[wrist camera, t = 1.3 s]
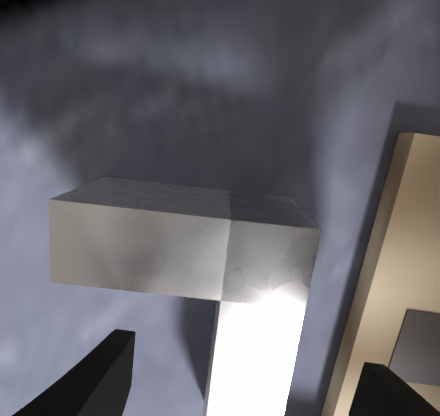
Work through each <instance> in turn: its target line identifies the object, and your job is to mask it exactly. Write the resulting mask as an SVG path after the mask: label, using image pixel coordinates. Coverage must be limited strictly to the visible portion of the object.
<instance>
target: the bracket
mask: <svg viewBox="0 0 440 416" xmlns="http://www.w3.org/2000/svg"><path fill="white" fill-rule="evenodd" d="M49 222H50V259H51V282H54V283H63V284H72V285H81V286H91V287H100V288H109V289H118V290H127V291H136V292H145V293H154V294H163V295H172V296H182V297H191V298H200V299H209V300H216V306H215V315H214V323H213V331H212V339H211V348H210V356H209V364H208V373H207V381H206V389H205V397H204V408H203V416H284V411H285V407H286V402H287V397H288V392H289V387H290V382H291V377H292V372H293V367H294V362H295V357H296V352H297V347H298V342H299V337H300V332H301V327H302V322H303V317H304V312H305V307H306V302H307V298H308V293H309V288H310V283H311V278H312V273H313V268H314V263H315V258H316V253H317V248H318V243H319V238H320V233H321V229H320V228H319V227H318V226H317V225H316V224H315V223H314V222H313V221H312V220H311V219H310V217H309V216H308V215H307V214H306V213H305V212H304V211H303V210H302V209H301V208H300V207H299V206H298V205H297V203H296V202H295V201H294V200H293V199H292V198H288V197H279V196H270V195H262V194H253V193H244V192H235V191H226V190H217V189H209V188H200V187H191V186H182V185H173V184H164V183H156V182H147V181H138V180H129V179H120V178H111V177H103V178H101V179H98V180H96V181H93V182H91V183H88V184H86V185H84V186H81V187H79V188H76V189H74V190H71V191H69V192H66V193H64V194H61V195H59V196H56V197H54V198H51V199H49Z"/></svg>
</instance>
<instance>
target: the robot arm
mask: <svg viewBox="0 0 440 416" xmlns="http://www.w3.org/2000/svg"><path fill="white" fill-rule="evenodd" d="M134 344H135V332H134V331H126V330H119V329H115V330H114V331H113V332H111V333H110V334H109V335H108V336H107V337H106V338H105V339H104V340H103V341H102V342H101V343H100V344H99V345H98V346H97V347H95V348H94V349H93V350H92V351H91V352H90V353H89V354H88V355H87V356H86V357H84V358H83V359H82V360H81V361H80V362H79V363H78V364H76V365H75V366H74V367H73V368H72V369H71V370H69V371H68V372H67V373H66V374H65V375H64V376H63V377H61V378H60V379H59V380H58V381H56V382H55V383H54V384H53V385H51V386H50V387H49V388H48V389H46V390H45V391H44V392H43V393H41V394H40V395H39V396H37V397H36V398H35V399H34V400H32V401H31V402H30V403H28V404H27V405H26V406H24V407H23V408H22V409H20V410H19V411H18V412H16V413H15V414H14V415H12V416H122V414H123V411H124V408H125V405H126V401H127V398H128V395H129V391H130V388H131V381H132V368H133V356H134ZM349 416H440V412H439V411H438V410H437V409H436V408H434V407H433V406H432V405H431V404H430V403H429V402H428V401H426V400H425V399H424V398H423V397H422V396H421V395H420V394H418V393H417V392H416V391H415V390H414V389H413V388H411V387H410V386H409V385H408V384H407V383H406V382H405V381H403V380H402V379H401V378H400V377H399V376H397V375H396V374H395V373H394V372H393V371H391V370H390V369H389V368H388V367H386V366H385V365H384V364H377V363H370V362H364V365H363V368H362V371H361V374H360V378H359V381H358V384H357V388H356V391H355V394H354V397H353V401H352V404H351V407H350V410H349Z"/></svg>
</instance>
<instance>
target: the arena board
mask: <svg viewBox="0 0 440 416" xmlns="http://www.w3.org/2000/svg"><path fill="white" fill-rule="evenodd" d="M364 362H370V363H377V364H384V365H385V366H386V367H388V368H389V369H390V370H391V371H393V372H394V373H395V374H396V375H397V376H399V377H400V378H401V379H402V380H403V381H405V382H406V383H407V384H408V385H409V386H410V387H411V388H413V389H414V390H415V391H416V392H417V393H418V394H420V395H421V396H422V397H423V398H424V399H425V400H426V401H428V402H429V403H430V404H431V405H432V406H433V407H434V408H436V409H437V410H438V411H439V412H440V136H433V135H426V134H419V133H400V132H399V134H398V138H397V141H396V145H395V149H394V152H393V156H392V159H391V163H390V167H389V170H388V174H387V178H386V181H385V185H384V189H383V192H382V196H381V199H380V203H379V207H378V210H377V214H376V218H375V221H374V225H373V229H372V232H371V236H370V239H369V243H368V247H367V250H366V254H365V258H364V261H363V265H362V269H361V272H360V276H359V279H358V283H357V287H356V290H355V294H354V298H353V301H352V305H351V308H350V312H349V316H348V319H347V323H346V327H345V330H344V334H343V338H342V341H341V345H340V348H339V352H338V356H337V359H336V363H335V367H334V370H333V374H332V378H331V381H330V385H329V388H328V392H327V396H326V399H325V403H324V407H323V410H322V414H321V416H349V410H350V407H351V404H352V401H353V397H354V394H355V391H356V388H357V384H358V381H359V378H360V374H361V371H362V368H363V365H364Z"/></svg>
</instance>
